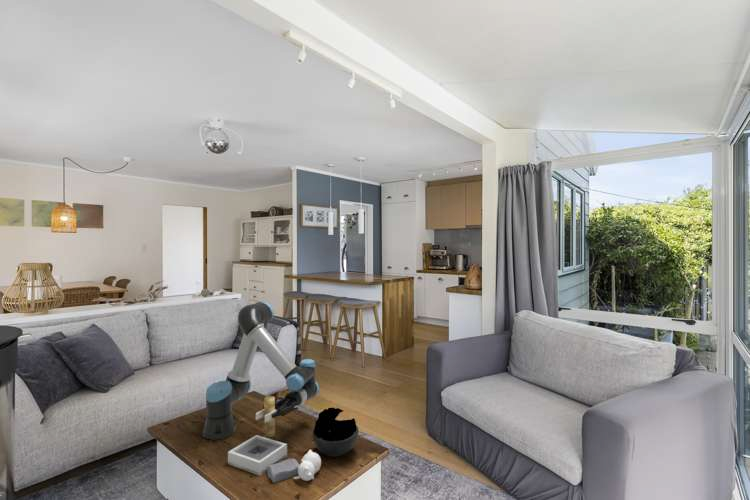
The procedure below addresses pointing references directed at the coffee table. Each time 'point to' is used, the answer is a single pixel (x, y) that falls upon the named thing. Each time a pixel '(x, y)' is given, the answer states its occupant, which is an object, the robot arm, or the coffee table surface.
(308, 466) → the cat figurine
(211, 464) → the coffee table surface
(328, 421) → the coal bowl
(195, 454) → the coffee table surface
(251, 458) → the hole box
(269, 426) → the peg
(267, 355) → the robot arm
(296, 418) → the coffee table surface
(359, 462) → the coffee table surface
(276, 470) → the stone block
